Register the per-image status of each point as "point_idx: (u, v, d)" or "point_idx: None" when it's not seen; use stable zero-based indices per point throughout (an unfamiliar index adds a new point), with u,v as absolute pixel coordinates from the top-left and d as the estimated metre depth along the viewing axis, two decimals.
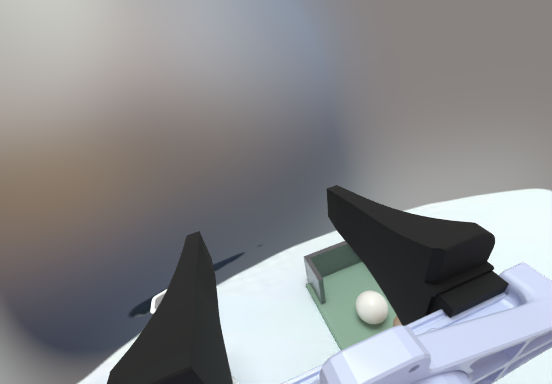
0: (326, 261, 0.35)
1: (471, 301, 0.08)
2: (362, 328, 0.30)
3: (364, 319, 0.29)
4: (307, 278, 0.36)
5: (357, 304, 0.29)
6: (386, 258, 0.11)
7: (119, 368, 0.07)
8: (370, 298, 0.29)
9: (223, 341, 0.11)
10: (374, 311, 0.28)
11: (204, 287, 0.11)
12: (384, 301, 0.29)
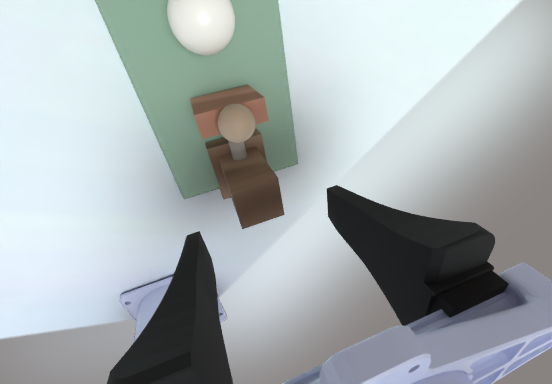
0: None
1: (471, 301, 0.08)
2: (176, 40, 0.16)
3: (180, 42, 0.14)
4: None
5: (170, 11, 0.13)
6: (386, 258, 0.11)
7: (118, 368, 0.07)
8: (202, 19, 0.13)
9: (223, 341, 0.11)
10: (201, 46, 0.14)
11: (204, 287, 0.11)
12: (229, 28, 0.14)
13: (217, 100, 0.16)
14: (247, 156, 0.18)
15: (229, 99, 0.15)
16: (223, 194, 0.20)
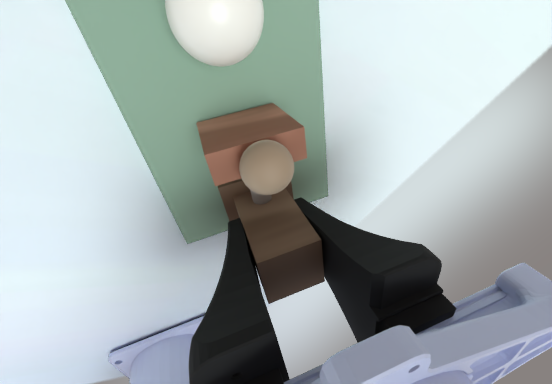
0: None
1: (415, 327, 0.08)
2: (177, 45, 0.11)
3: (183, 48, 0.10)
4: None
5: (170, 3, 0.09)
6: (340, 277, 0.10)
7: (200, 335, 0.07)
8: (219, 15, 0.08)
9: None
10: (216, 55, 0.09)
11: (253, 269, 0.11)
12: (257, 28, 0.09)
13: (235, 128, 0.11)
14: (271, 197, 0.14)
15: (252, 127, 0.11)
16: None
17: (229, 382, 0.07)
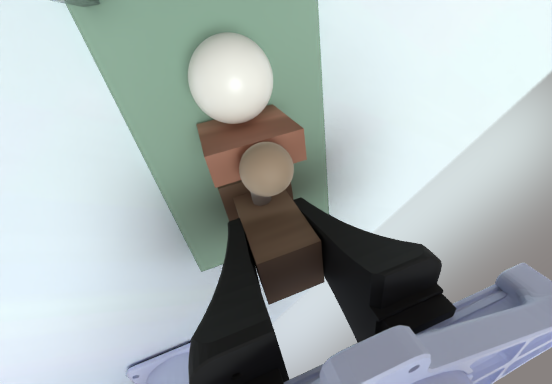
0: None
1: (415, 327, 0.08)
2: (198, 110, 0.13)
3: (203, 110, 0.11)
4: None
5: (192, 74, 0.10)
6: (340, 277, 0.10)
7: (200, 335, 0.07)
8: (233, 78, 0.09)
9: None
10: (231, 113, 0.10)
11: (253, 269, 0.11)
12: (267, 88, 0.10)
13: (235, 130, 0.11)
14: (271, 198, 0.14)
15: (252, 129, 0.11)
16: None
17: (229, 382, 0.07)
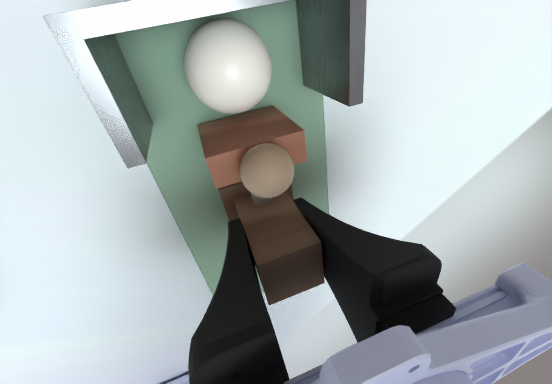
0: (168, 23, 0.09)
1: (415, 327, 0.08)
2: None
3: (185, 53, 0.10)
4: None
5: None
6: (340, 277, 0.10)
7: (200, 335, 0.07)
8: None
9: None
10: None
11: (253, 269, 0.11)
12: None
13: (235, 131, 0.11)
14: (271, 199, 0.14)
15: (252, 130, 0.11)
16: None
17: (229, 382, 0.07)
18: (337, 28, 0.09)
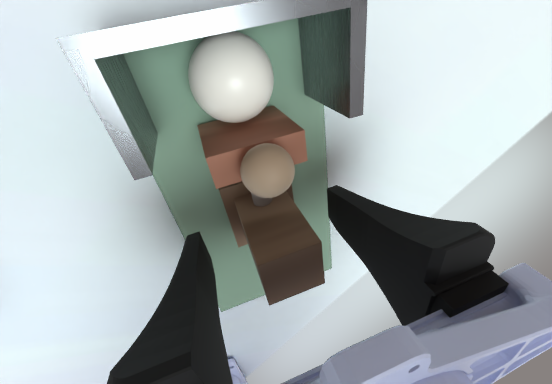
0: None
1: (471, 301, 0.08)
2: None
3: (189, 65, 0.10)
4: None
5: None
6: (386, 258, 0.11)
7: (119, 368, 0.07)
8: None
9: (223, 341, 0.11)
10: None
11: (204, 287, 0.11)
12: None
13: (236, 131, 0.11)
14: (272, 199, 0.14)
15: (253, 130, 0.11)
16: (238, 241, 0.16)
17: None
18: (338, 43, 0.10)
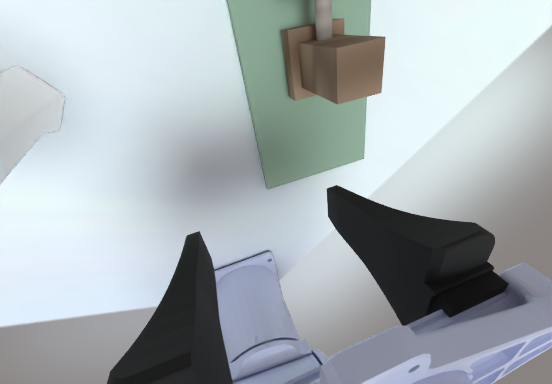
0: None
1: (471, 301, 0.08)
2: None
3: None
4: None
5: None
6: (386, 258, 0.11)
7: (118, 368, 0.07)
8: None
9: (223, 341, 0.11)
10: None
11: (204, 287, 0.11)
12: None
13: None
14: (332, 37, 0.16)
15: None
16: (295, 94, 0.19)
17: None
18: None
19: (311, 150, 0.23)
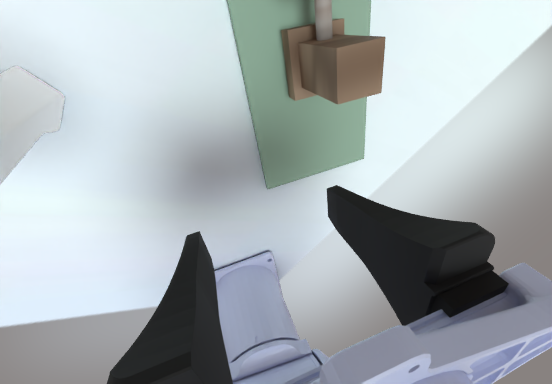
0: None
1: (471, 301, 0.08)
2: None
3: None
4: None
5: None
6: (386, 258, 0.11)
7: (118, 368, 0.07)
8: None
9: (223, 341, 0.11)
10: None
11: (204, 287, 0.11)
12: None
13: None
14: (332, 37, 0.16)
15: None
16: (295, 94, 0.19)
17: None
18: None
19: (311, 150, 0.23)
